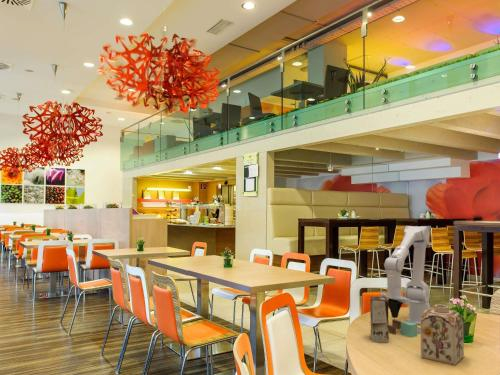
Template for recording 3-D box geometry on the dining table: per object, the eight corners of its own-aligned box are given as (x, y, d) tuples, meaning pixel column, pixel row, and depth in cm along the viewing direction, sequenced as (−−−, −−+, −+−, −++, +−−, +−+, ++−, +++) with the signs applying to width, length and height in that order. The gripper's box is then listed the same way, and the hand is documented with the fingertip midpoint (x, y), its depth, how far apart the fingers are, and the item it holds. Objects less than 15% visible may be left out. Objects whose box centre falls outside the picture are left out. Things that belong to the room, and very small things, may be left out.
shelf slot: (394, 326, 190) (394, 319, 191) (410, 331, 182) (410, 324, 183) (377, 329, 186) (377, 322, 186) (393, 334, 178) (393, 327, 178)
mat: (416, 327, 188) (416, 326, 188) (429, 331, 182) (429, 330, 182) (404, 329, 185) (404, 328, 185) (418, 333, 179) (418, 333, 179)
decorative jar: (430, 349, 159) (429, 300, 160) (464, 356, 152) (463, 305, 153) (420, 358, 150) (419, 306, 151) (455, 366, 143) (454, 311, 143)
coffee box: (389, 342, 167) (388, 301, 168) (372, 341, 168) (371, 300, 169) (386, 336, 176) (386, 296, 176) (370, 335, 177) (369, 295, 178)
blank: (407, 333, 180) (407, 321, 180) (417, 336, 176) (417, 323, 176) (400, 334, 178) (400, 322, 178) (410, 337, 174) (410, 325, 174)
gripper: (375, 283, 189) (375, 314, 188) (400, 289, 176) (401, 322, 176) (386, 282, 192) (387, 312, 192) (412, 287, 180) (413, 320, 179)
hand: (394, 317), depth 184 cm, fingers closed
